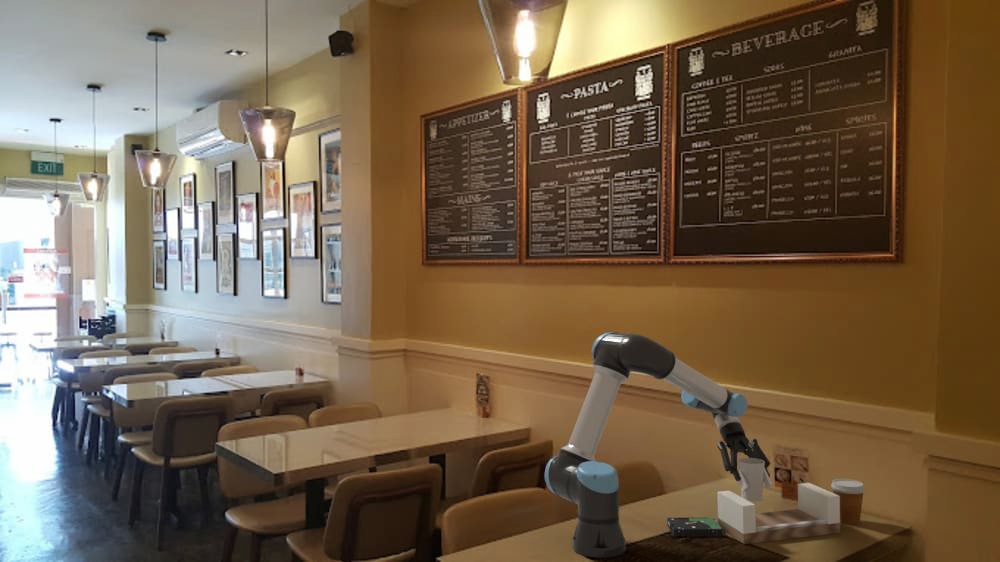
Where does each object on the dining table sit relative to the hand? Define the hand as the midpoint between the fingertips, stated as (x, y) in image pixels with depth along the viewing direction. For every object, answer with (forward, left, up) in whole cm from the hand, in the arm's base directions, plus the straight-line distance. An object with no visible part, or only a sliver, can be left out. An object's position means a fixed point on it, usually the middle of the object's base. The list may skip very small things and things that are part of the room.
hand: (757, 488), depth 222 cm
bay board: (+9, -5, -10) cm, 14 cm away
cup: (-3, +2, -4) cm, 6 cm away
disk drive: (-9, -23, -10) cm, 26 cm away
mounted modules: (+9, -5, -7) cm, 12 cm away
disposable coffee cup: (+21, +17, -10) cm, 29 cm away
